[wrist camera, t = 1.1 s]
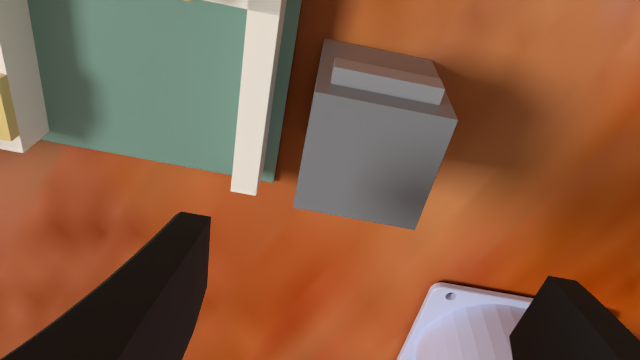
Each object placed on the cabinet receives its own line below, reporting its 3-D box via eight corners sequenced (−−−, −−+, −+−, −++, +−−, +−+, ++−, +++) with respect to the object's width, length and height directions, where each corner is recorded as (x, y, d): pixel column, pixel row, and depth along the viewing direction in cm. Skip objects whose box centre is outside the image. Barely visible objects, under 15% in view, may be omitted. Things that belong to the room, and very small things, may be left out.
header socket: (308, -43, 15) (300, -27, 12) (273, 180, 20) (262, 223, 17) (-36, -117, 14) (-118, -116, 12) (17, 132, 19) (-32, 170, 17)
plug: (435, 46, 16) (465, 103, 12) (400, 152, 19) (414, 229, 15) (326, 23, 16) (318, 74, 12) (305, 133, 19) (292, 207, 14)
